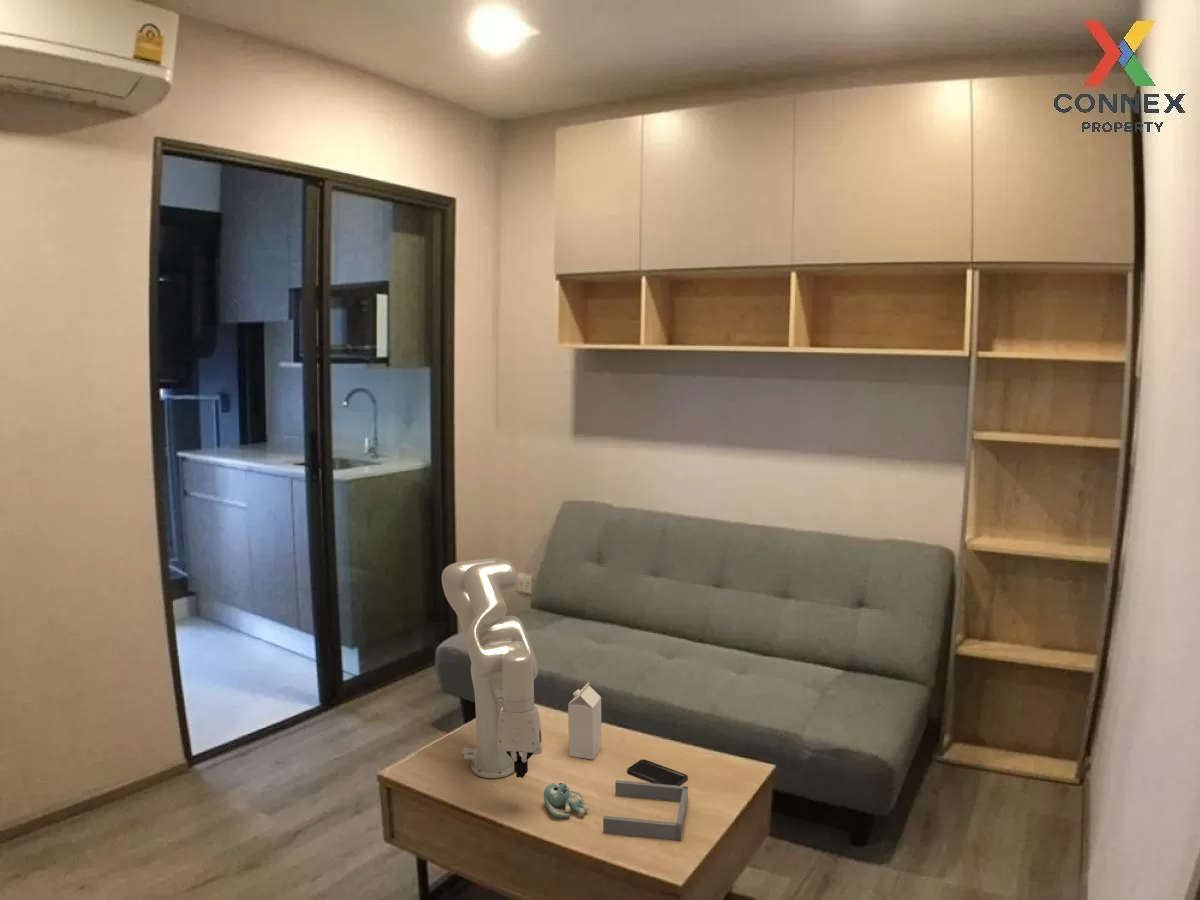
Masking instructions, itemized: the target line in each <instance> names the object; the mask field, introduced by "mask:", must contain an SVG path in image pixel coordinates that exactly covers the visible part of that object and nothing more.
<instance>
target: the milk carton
mask: <svg viewBox="0 0 1200 900" xmlns="http://www.w3.org/2000/svg"><path fill="white" fill-rule="evenodd" d="M572 695H573V698H572V700H570V701H569V703H568V705H567V706H568V707H567V709H568V710H567V713H568V714H567V715H568V716H567V717H568V719H567V720H568V721H567V722H568V724H567V725H568V756H570V757H572V758H573V757H575V758H579V759H580V758H581V759H587V760H591V761H592V760H595V758H596V756H597V755H598V753H599V752H600V751H601V750H602V697H601V696H600V694H598V692H596V690H595V689H593V688H592V687H591V686H590V681H588V682H587V683H586V684H585V685H584V686H583V687H582V688H581V689H579V688H578V689H577V690H575V691H574V692H572Z"/></svg>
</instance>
